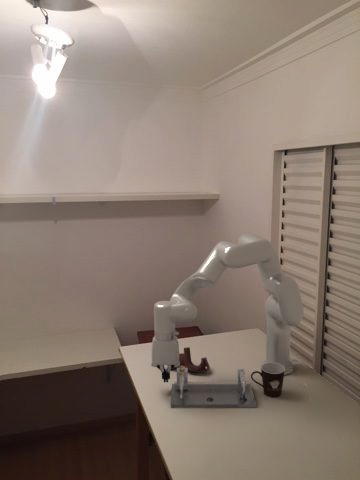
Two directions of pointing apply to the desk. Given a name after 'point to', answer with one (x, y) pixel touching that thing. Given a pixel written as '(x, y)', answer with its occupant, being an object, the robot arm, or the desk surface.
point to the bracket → (186, 361)
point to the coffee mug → (271, 378)
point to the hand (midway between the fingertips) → (166, 380)
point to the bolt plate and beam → (215, 394)
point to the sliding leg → (182, 379)
